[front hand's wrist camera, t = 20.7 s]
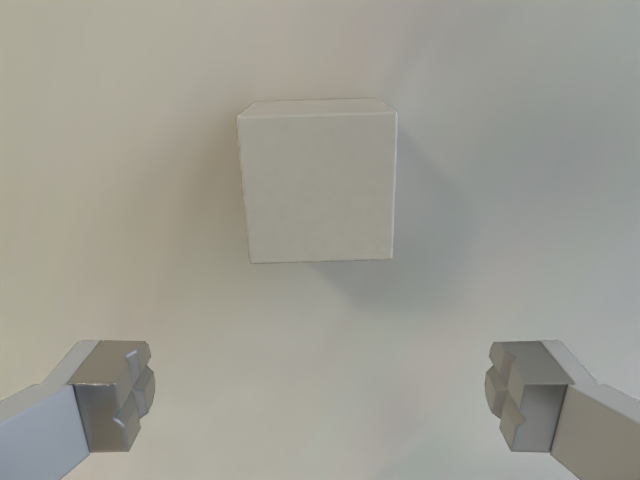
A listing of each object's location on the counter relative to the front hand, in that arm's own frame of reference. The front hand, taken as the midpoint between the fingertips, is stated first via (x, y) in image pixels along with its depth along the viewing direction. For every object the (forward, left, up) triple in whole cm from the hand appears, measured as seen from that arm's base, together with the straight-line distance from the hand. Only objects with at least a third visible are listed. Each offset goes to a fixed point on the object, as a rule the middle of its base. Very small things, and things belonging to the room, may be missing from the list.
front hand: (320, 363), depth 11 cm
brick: (-2, +2, -9) cm, 9 cm away
